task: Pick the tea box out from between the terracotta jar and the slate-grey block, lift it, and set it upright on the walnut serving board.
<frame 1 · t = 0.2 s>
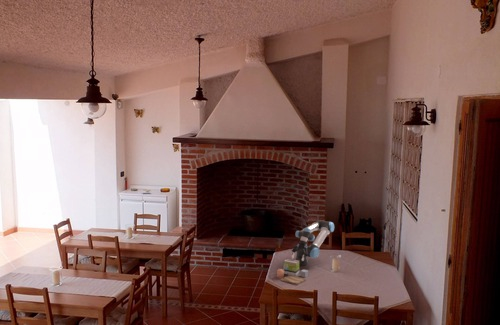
hand: (297, 259, 488), 16 cm above the table, tool tilted 35°, fingers open, 13 cm apart
terracotta jar: (280, 277, 478), on the table
tea box: (291, 273, 488), on the table
slate block: (304, 276, 481), on the table
walnut board: (293, 280, 468), on the table
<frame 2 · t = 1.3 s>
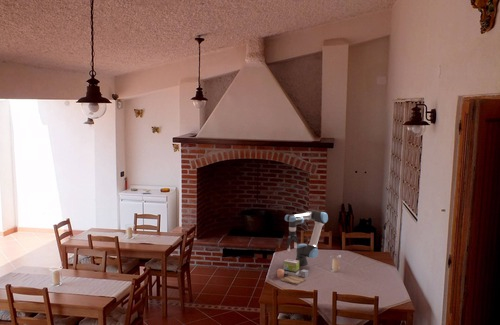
hand: (292, 249, 485), 27 cm above the table, tool pointing down, fingers open, 13 cm apart
nothing on the table moved.
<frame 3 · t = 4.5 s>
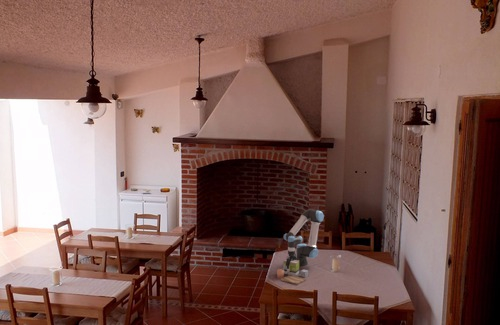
hand: (291, 270, 488), 4 cm above the table, tool pointing down, fingers closed on tea box, 11 cm apart
tea box: (291, 273, 488), on the table, touching gripper
everything else where it was.
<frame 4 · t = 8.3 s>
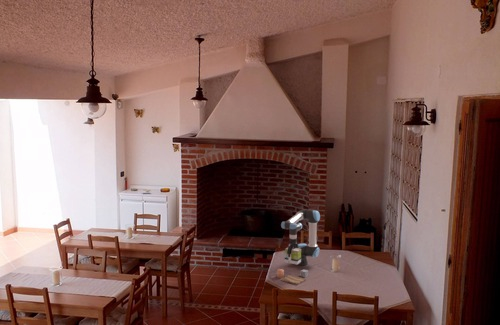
hand: (292, 258, 469), 23 cm above the table, tool pointing down, fingers closed on tea box, 11 cm apart
tea box: (292, 262, 469), point 19 cm above the table, touching gripper
everything else where it was.
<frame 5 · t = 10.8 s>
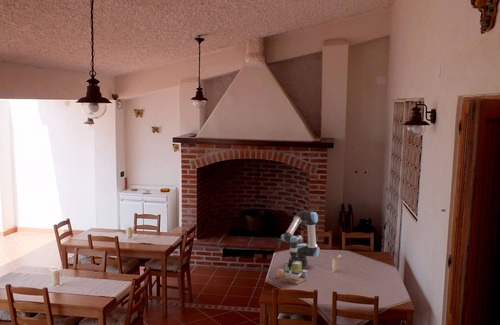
hand: (293, 271, 467), 10 cm above the table, tool pointing down, fingers closed on tea box, 11 cm apart
tea box: (293, 275, 468), point 6 cm above the table, touching gripper
everything else where it was.
when the fingers open (7 cm above the table, at t = 12.5 s): tea box drops 1 cm, resting on walnut board.
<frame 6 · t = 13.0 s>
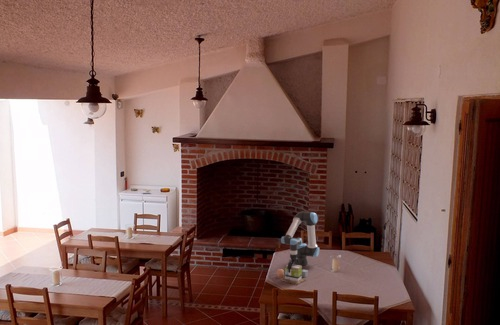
hand: (293, 273, 468), 8 cm above the table, tool pointing down, fingers open, 13 cm apart
tea box: (293, 279, 468), point 1 cm above the table, touching walnut board
everything else where it was.
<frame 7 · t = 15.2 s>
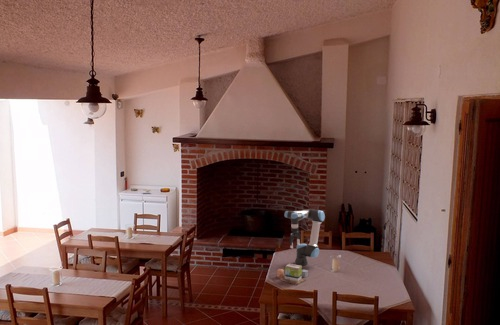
hand: (295, 246, 481), 32 cm above the table, tool pointing down, fingers open, 13 cm apart
nothing on the table moved.
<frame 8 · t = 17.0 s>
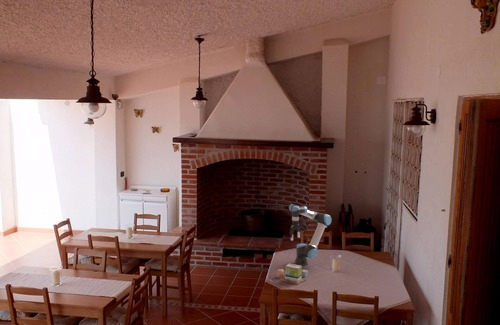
hand: (295, 238, 491), 37 cm above the table, tool pointing down, fingers open, 13 cm apart
nothing on the table moved.
at the end: tea box inside the target area on the walnut board (0.1 cm from its centre), point 1.3 cm above the walnut board's base; tea box tilted 0°; the gripper is holding nothing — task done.
